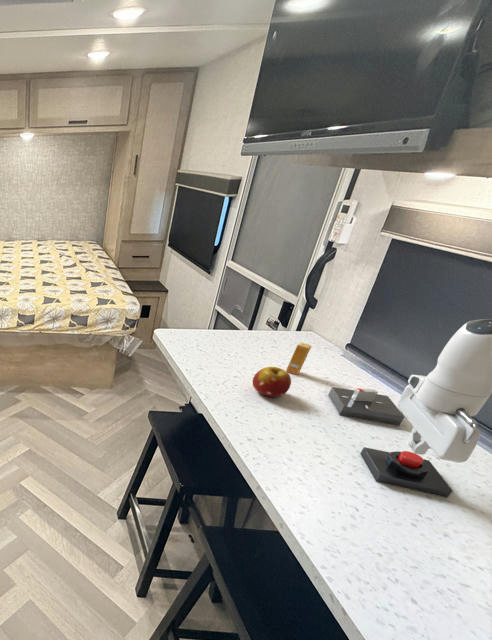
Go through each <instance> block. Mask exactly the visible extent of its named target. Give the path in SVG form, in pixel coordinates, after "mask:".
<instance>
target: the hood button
mask: <svg viewBox="0 0 492 640" xmlns="http://www.w3.org/2000/svg"><path fill="white" fill-rule="evenodd" d="M400 452H401V454H400V455H399V457H398V460H399V461H400V462H401V463H403V464H405V465H407V466H410V467H414V468H419V467H420V465H421V464H422V462H423V459H424V458H423V457H422V456H421V455H420V454H416V453H414V452H413V451H408V450H403V451H400Z"/></svg>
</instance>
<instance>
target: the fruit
mask: <svg viewBox="0 0 492 640" xmlns="http://www.w3.org/2000/svg"><path fill="white" fill-rule="evenodd" d="M291 384H292V378H291V376H290V373H289V372H287V371H286V370H284V369H282V368H280V367H277V366H266V367H263V368H261V369H259V370H258V371H257V372H256V373H255V374H254V376H253V378H252V386H253V388H254V390H256V391H257V392H258V393H260V394H261V395H263V396H266V397H270V398H277V397H282V396H283V395H285V394H286V393H287V392H288V391H289V390H290V388H291Z"/></svg>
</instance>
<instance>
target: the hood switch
mask: <svg viewBox="0 0 492 640" xmlns="http://www.w3.org/2000/svg"><path fill="white" fill-rule="evenodd" d="M401 452H402V451H398V450H397V451H385V450H382V449H381V450H380V449H375V448H370V447H365V446H363V447H362V449H361V451H360V453H359V455H360V456H361V458H362V460H363V462H364V464H365V465H366V468H368V470H369V472H370V474H371V475H372V477H373V479H374V481H375V482H376V483H380V484H384V485H388V486H389V485H390V486H394V487H398V488H402V489H406V490H410V491H415V492H419V493H424V494H428V495H434V496H438V497H441V498H446V499H448V498H449V497H450V495H451V494H452V493H453V489H452V488H451V486H450V485H449V483H447V482H446V480H445V479H444V478H443V476H442V475H441V473H439V471H438V469H436V467H435V466H434V465H433V463H432V462H431V461H430V460H429V459H424V458H423V462H422V464H421V465H420V467H419V468H414V467H410V466H407V465H405V464H403V463H401V462H400V461H399V460H398V457H399V455H400V454H401Z"/></svg>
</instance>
